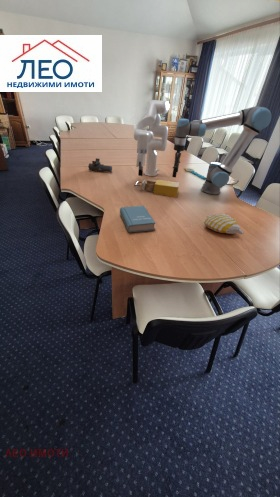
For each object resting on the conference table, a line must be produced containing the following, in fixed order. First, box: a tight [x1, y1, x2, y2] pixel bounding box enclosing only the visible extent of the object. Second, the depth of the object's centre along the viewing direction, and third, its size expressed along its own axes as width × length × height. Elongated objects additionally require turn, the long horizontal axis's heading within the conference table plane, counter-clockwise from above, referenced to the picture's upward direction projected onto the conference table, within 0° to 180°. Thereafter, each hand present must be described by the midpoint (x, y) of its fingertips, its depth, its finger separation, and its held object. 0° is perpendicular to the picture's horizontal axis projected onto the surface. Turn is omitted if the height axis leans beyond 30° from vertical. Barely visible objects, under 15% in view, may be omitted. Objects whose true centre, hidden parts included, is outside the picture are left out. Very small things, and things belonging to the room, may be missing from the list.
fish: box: [203, 213, 245, 235], centre depth 133 cm, size 25×8×20 cm
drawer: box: [133, 178, 156, 192], centre depth 178 cm, size 23×10×6 cm, turn 77°
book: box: [119, 205, 156, 233], centre depth 136 cm, size 23×16×5 cm
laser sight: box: [88, 158, 113, 173], centre depth 208 cm, size 10×22×10 cm, turn 78°
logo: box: [183, 167, 206, 180], centre depth 223 cm, size 34×10×1 cm, turn 16°
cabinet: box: [153, 179, 180, 198], centre depth 176 cm, size 18×11×8 cm, turn 77°
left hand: (140, 175), depth 175 cm, fingers closed
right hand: (175, 174), depth 168 cm, fingers open, 13 cm apart
